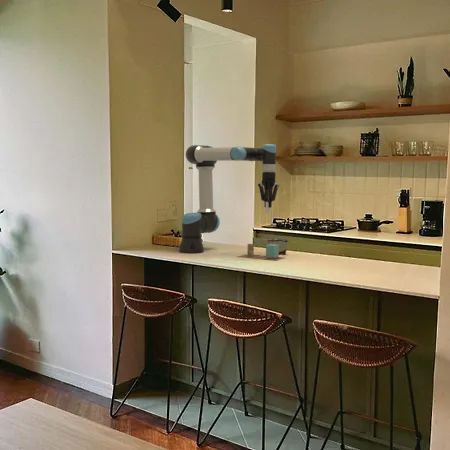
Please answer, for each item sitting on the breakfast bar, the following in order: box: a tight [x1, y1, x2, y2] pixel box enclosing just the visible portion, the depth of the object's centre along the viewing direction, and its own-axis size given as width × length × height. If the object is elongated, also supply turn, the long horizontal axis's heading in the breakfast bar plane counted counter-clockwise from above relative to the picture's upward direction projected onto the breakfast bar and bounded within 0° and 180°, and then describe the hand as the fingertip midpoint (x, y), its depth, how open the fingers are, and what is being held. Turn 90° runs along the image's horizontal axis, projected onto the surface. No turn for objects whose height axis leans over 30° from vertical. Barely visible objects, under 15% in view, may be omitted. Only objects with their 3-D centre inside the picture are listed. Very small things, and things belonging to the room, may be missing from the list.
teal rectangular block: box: [265, 244, 280, 258], centre depth 313 cm, size 5×5×7 cm
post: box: [246, 243, 255, 257], centre depth 320 cm, size 3×3×7 cm
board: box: [236, 254, 286, 262], centre depth 317 cm, size 25×14×1 cm, turn 57°
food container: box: [267, 237, 289, 256], centre depth 331 cm, size 12×6×10 cm, turn 84°
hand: (267, 213), depth 320 cm, fingers closed
